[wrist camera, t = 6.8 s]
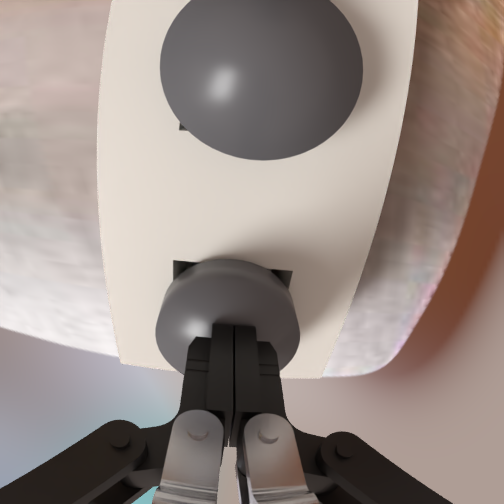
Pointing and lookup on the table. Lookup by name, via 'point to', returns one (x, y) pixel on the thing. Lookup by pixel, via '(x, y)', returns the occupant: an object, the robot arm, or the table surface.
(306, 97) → the knob middle
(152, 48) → the knob panel
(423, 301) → the table surface
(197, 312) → the knob
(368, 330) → the table surface
